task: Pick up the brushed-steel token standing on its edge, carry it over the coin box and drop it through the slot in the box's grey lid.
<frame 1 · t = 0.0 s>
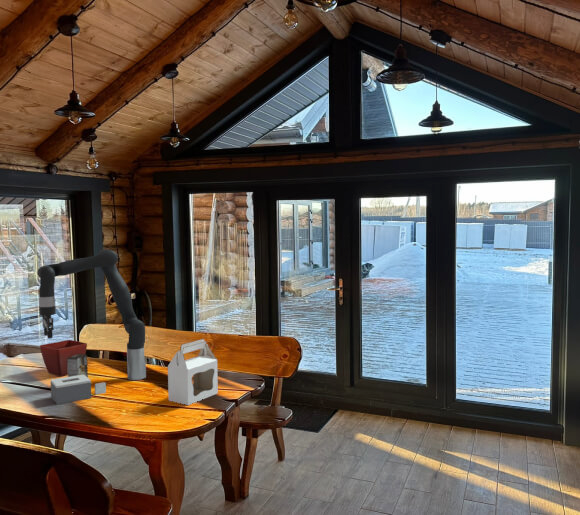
hand: (48, 336, 271), 29 cm above the table, tool pointing down, fingers open, 8 cm apart
coffee box: (78, 386, 286), on the table
plant pot: (64, 373, 311), on the table
coin box: (71, 397, 266), on the table
gable box: (193, 397, 267), on the table
steel token: (100, 393, 273), on the table
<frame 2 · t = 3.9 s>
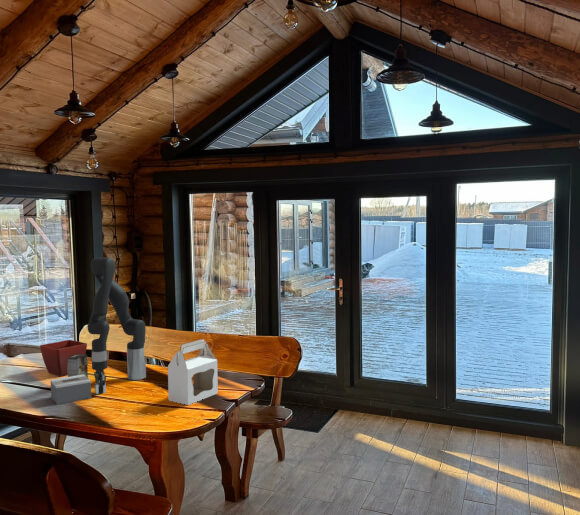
hand: (100, 392, 273), 0 cm above the table, tool pointing down, fingers closed on steel token
steel token: (100, 393, 273), on the table, touching gripper
everything else where it was.
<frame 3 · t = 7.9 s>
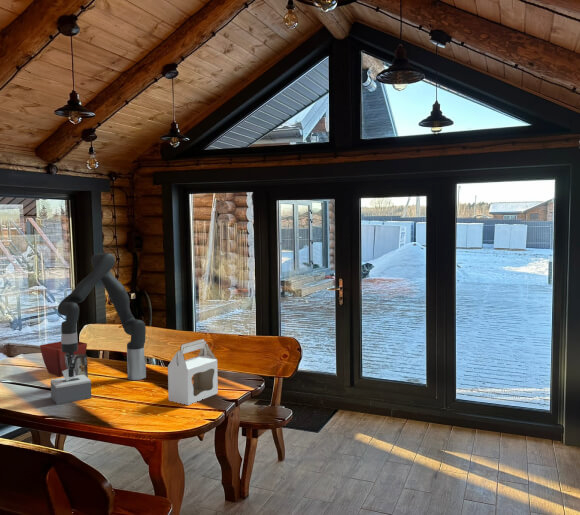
hand: (70, 376, 265), 11 cm above the table, tool pointing down, fingers closed on steel token
steel token: (64, 376, 263), point 11 cm above the table, tilted 72°, touching gripper
everything else where it was.
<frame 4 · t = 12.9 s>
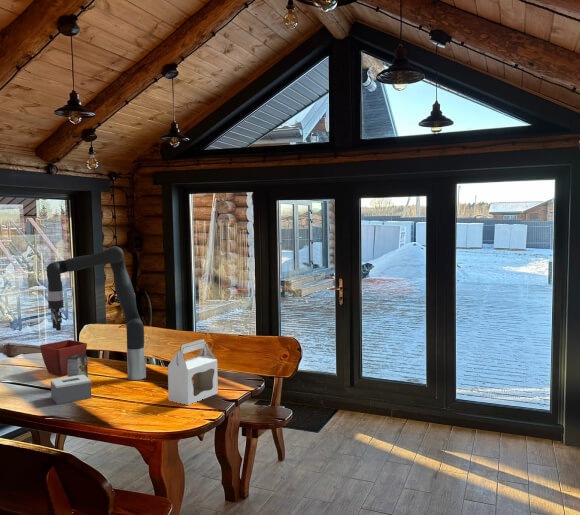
hand: (56, 329, 287), 30 cm above the table, tool pointing down, fingers open, 8 cm apart
steel token: (64, 396, 267), point 1 cm above the table, tilted 90°
everything else where it was.
at the end: steel token inside the target area on the coin box (3.8 cm from its centre), point 0.6 cm above the coin box's base; the gripper is holding nothing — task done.
